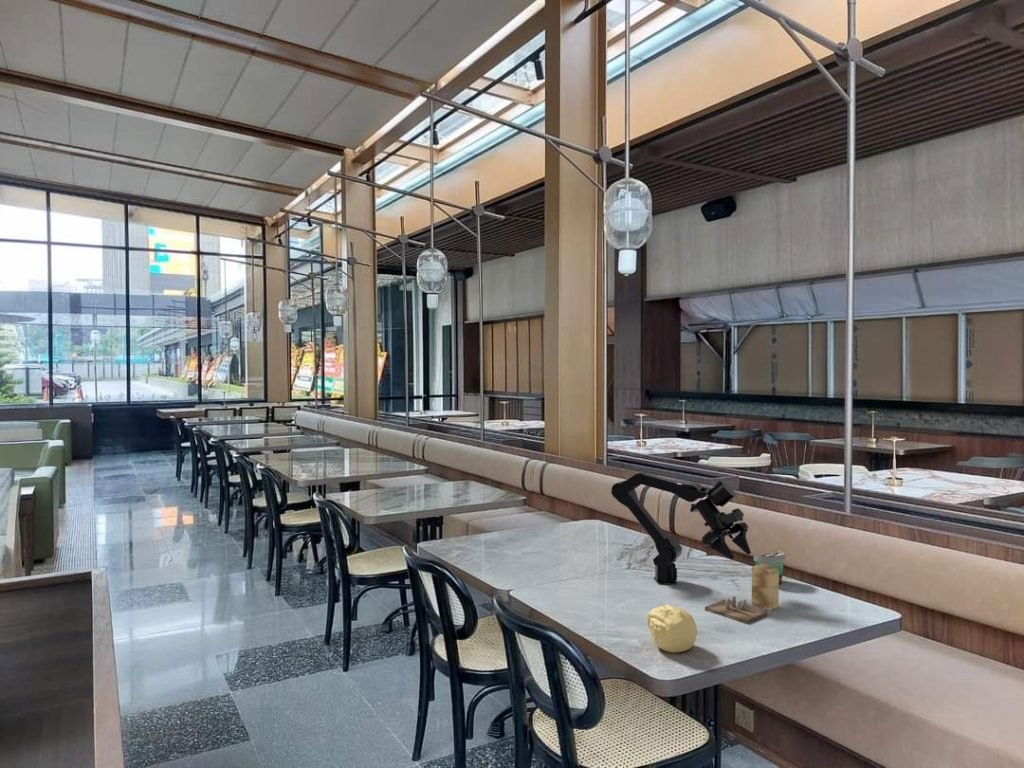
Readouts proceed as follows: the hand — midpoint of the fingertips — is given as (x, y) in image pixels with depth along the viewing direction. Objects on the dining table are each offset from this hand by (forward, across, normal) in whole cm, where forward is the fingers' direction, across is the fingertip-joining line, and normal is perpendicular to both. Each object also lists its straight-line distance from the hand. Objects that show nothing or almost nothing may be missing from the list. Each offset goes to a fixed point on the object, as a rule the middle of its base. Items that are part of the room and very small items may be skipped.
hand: (741, 556), depth 209 cm
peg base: (+14, -12, +6) cm, 19 cm away
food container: (+8, +22, +11) cm, 26 cm away
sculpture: (+17, -47, +3) cm, 50 cm away
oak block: (+15, 0, +4) cm, 16 cm away
